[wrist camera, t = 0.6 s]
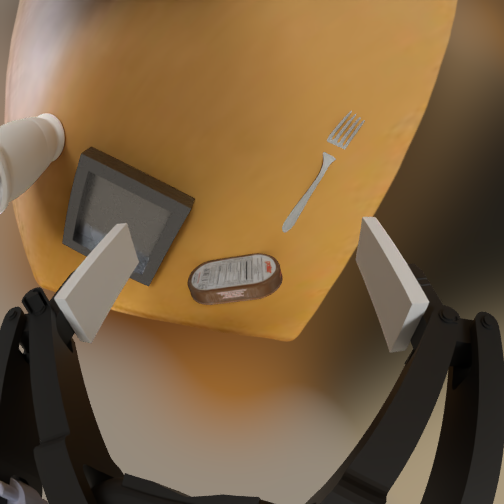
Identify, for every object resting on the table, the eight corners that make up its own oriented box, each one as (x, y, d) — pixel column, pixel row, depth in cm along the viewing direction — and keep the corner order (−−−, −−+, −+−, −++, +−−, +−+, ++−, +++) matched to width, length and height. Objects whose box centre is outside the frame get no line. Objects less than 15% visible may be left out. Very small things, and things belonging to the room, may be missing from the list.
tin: (195, 273, 48) (188, 310, 41) (189, 260, 46) (181, 297, 39) (279, 260, 46) (285, 297, 40) (277, 246, 44) (283, 283, 38)
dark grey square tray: (91, 146, 32) (81, 153, 30) (194, 198, 38) (191, 208, 36) (69, 233, 41) (62, 243, 39) (152, 274, 47) (148, 286, 45)
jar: (48, 179, 34) (-6, 230, 22) (18, 138, 28) (-42, 178, 17) (82, 138, 31) (17, 183, 19) (48, 93, 25) (-24, 121, 14)
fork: (265, 242, 44) (266, 249, 43) (343, 107, 30) (348, 109, 29) (283, 248, 45) (284, 255, 44) (362, 119, 31) (367, 121, 30)
